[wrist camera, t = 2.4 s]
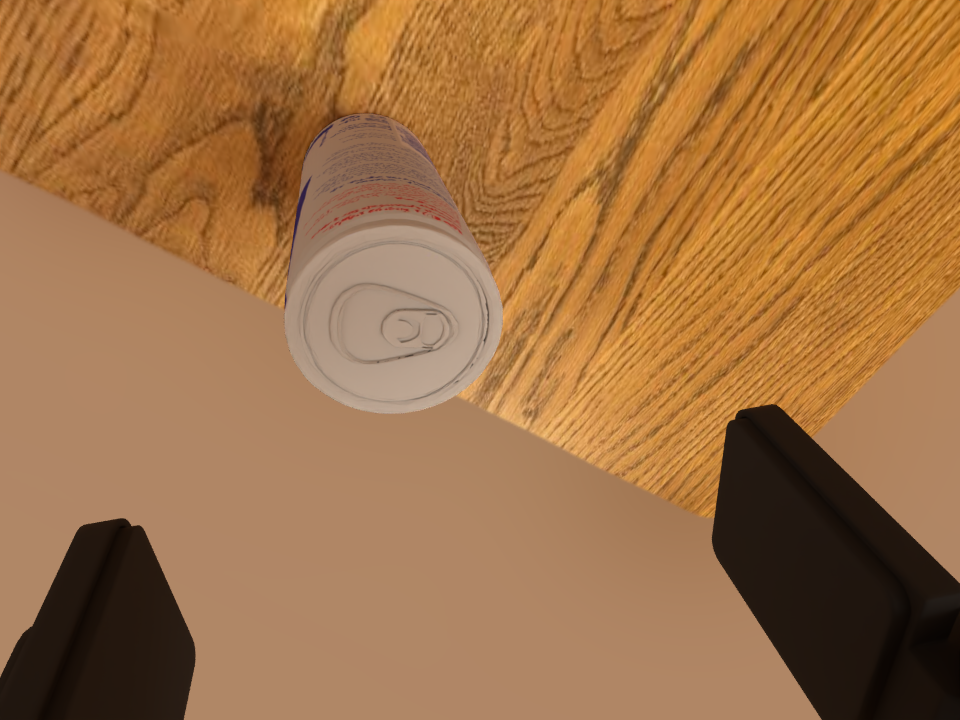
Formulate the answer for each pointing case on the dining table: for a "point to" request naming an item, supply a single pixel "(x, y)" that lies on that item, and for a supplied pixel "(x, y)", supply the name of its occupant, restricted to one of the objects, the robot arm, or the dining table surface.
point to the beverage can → (385, 274)
